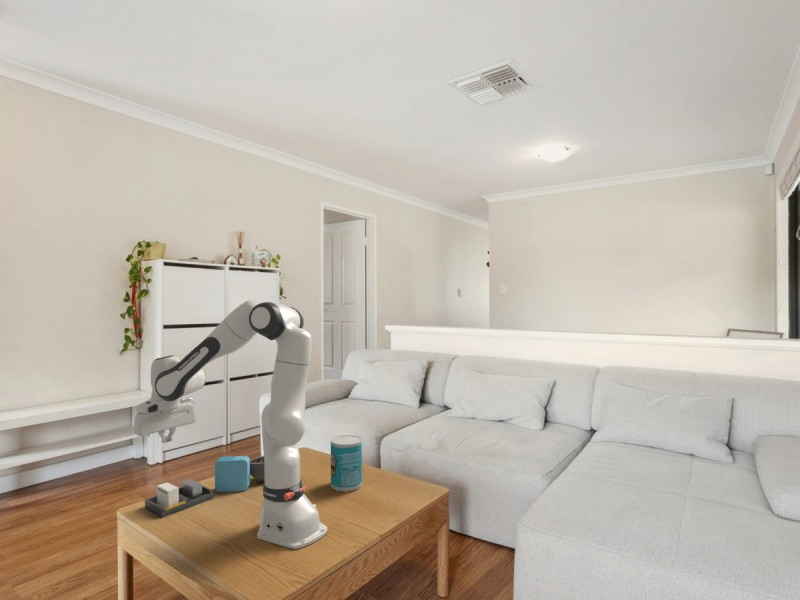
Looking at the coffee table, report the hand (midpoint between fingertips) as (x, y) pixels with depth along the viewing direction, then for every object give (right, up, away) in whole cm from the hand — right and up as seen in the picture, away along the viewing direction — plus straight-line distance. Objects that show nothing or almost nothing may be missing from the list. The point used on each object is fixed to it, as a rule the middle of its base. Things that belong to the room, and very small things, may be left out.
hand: (167, 441), depth 159 cm
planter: (+29, -23, +25) cm, 45 cm away
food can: (+60, -23, +18) cm, 67 cm away
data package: (+17, -23, +15) cm, 33 cm away
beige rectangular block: (0, -22, 0) cm, 22 cm away
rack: (+3, -23, +4) cm, 24 cm away
